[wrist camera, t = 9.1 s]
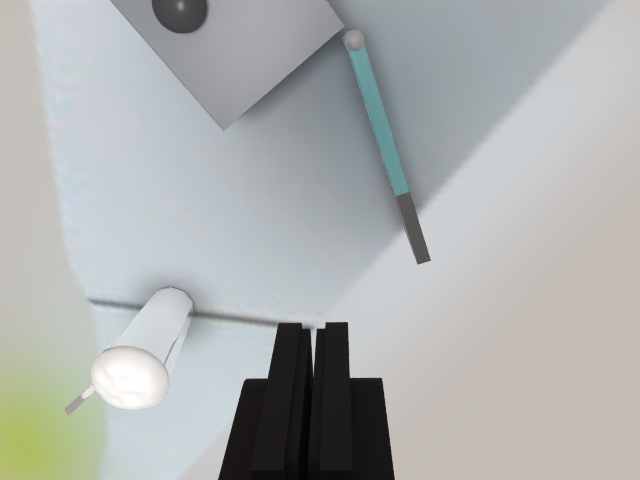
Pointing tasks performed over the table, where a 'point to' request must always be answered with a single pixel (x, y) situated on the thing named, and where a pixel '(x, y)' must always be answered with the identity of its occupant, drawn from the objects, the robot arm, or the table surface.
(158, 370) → the milkshake
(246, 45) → the camera case
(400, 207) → the door
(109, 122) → the table surface
